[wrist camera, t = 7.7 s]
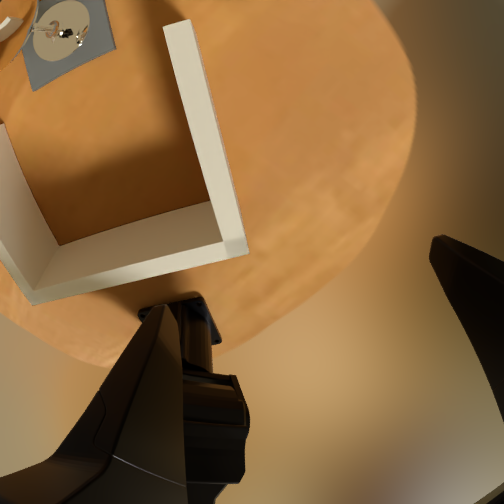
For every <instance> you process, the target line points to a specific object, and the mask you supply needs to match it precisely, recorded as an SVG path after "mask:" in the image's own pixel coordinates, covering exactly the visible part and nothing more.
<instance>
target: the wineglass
mask: <svg viewBox="0 0 504 504" xmlns="http://www.w3.org/2000/svg"><path fill="white" fill-rule="evenodd" d="M38 8H39V0H0V72H1V71H2V70H3V69H4V68H6V67H7V66H8V65H9V64H10V63H11V62H12V61H13V59H14V58H15V57H16V56H17V55H18V53H19V52H20V50H21V49H22V48H23V46H24V45H25V43H26V41H27V39H28V38H29V36H30V34H31V32H34V34H33V47H34V50H35V52H36V54H37V55H38V56H39V57H40V58H41V59H43V60H46V61H50V62H52V61H59V60H62V59H65V58H66V57H68V56H70V55H71V54H72V53H74V52H75V51H76V50H77V49H78V48H79V47H80V46H81V44H82V43H83V41H84V40H85V38H86V36H87V33H88V30H89V27H90V14H89V11H88V9H87V7H86V6H85V5H84V4H83V3H81V2H79V1H76V0H65V1H62V2H59V3H57V4H55V5H53V6H52V7H51V8H49V9H48V10H47V11H46V12H45V13H44V14H43V15H42V17H41V18H40V19H39V21H38V23H35V21H36V18H37V14H38Z"/></svg>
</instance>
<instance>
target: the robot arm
mask: <svg viewBox="0 0 504 504" xmlns="http://www.w3.org/2000/svg"><path fill="white" fill-rule="evenodd" d="M429 260H430V263H431V265H432V267H433V269H434V271H435V273H436V275H437V277H438V279H439V282H440V284H441V286H442V288H443V290H444V292H445V294H446V296H447V298H448V300H449V302H450V304H451V306H452V307H453V309H454V311H455V313H456V315H457V316H458V318H459V320H460V322H461V324H462V326H463V328H464V329H465V332H466V334H467V336H468V337H469V339H470V342H471V344H472V346H473V347H474V350H475V352H476V354H477V356H478V358H479V361H480V363H481V365H482V367H483V370H484V372H485V374H486V377H487V379H488V381H489V383H490V386H491V389H492V391H493V394H494V397H495V399H496V402H497V405H498V407H499V410H500V413H501V416H502V419H503V422H504V262H503V261H501V260H499V259H497V258H495V257H493V256H491V255H489V254H487V253H485V252H482V251H480V250H478V249H476V248H474V247H471V246H469V245H467V244H465V243H462V242H460V241H458V240H455V239H453V238H451V237H448V236H446V235H443V234H442V235H438V236H435V237H433V239H432V243H431V248H430V253H429ZM198 302H200V303H198ZM143 314H144V315H143ZM138 317H139V319H140V320H141V322H142V324H141V326H140V327H139V329H138V330H137V332H136V333H135V335H134V336H133V338H132V339H131V341H130V342H129V344H128V345H127V347H126V348H125V350H124V351H123V353H122V354H121V356H120V357H119V359H118V360H117V362H116V363H115V365H114V366H113V368H112V369H111V371H110V373H109V374H108V376H107V377H106V379H105V381H104V382H103V383H102V385H101V387H100V388H99V391H97V393H96V394H95V396H94V398H93V399H92V401H91V402H90V404H89V405H88V407H87V409H86V410H85V412H84V413H83V414H82V416H81V417H80V419H79V420H78V422H77V423H76V424H75V426H74V427H73V428H72V430H71V431H70V432H69V434H68V435H67V437H66V438H65V439H64V441H63V442H62V443H61V445H60V446H59V448H58V449H57V450H56V452H55V453H54V454H53V455H52V456H50V457H49V458H48V459H46V460H45V461H43V462H41V463H38V464H36V465H33V466H31V467H28V468H25V469H23V470H20V471H17V472H15V473H12V474H9V475H6V476H3V477H0V504H215V500H216V498H217V497H218V496H219V494H220V493H221V492H222V491H223V490H224V488H225V487H226V486H227V485H228V484H238V483H239V482H240V481H241V479H242V477H243V475H244V473H245V442H246V438H247V436H248V433H249V428H250V415H249V410H248V407H247V404H246V401H245V399H244V396H243V393H242V391H241V388H240V385H239V383H238V380H237V377H236V375H222V374H215V373H213V366H212V365H213V364H212V345H216V344H220V343H221V342H222V338H221V335H220V333H219V331H218V329H217V327H216V324H215V322H214V320H213V318H212V316H211V313H210V311H209V309H208V307H207V304H206V302H205V300H204V299H203V298H201V297H197V298H192V299H187V300H183V301H178V302H173V303H169V304H163V305H158V306H154V307H150V308H145V309H140V310H139V311H138ZM474 504H504V483H502V484H501V485H500V486H498V487H497V488H496V489H494V490H493V491H492V492H491V493H489V494H487V495H486V496H485V497H483V498H482V499H480V500H479V501H477V502H476V503H474Z"/></svg>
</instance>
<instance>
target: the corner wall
mask: <svg viewBox="0 0 504 504" xmlns="http://www.w3.org/2000/svg"><path fill="white" fill-rule="evenodd" d="M163 30H164V34H165V38H166V42H167V46H168V50H169V54H170V58H171V61H172V65H173V69H174V73H175V76H176V80H177V84H178V88H179V91H180V95H181V99H182V102H183V106H184V109H185V113H186V117H187V120H188V124H189V127H190V131H191V134H192V138H193V141H194V145H195V148H196V152H197V155H198V159H199V162H200V166H201V169H202V172H203V176H204V179H205V183H206V186H207V189H208V193H209V196H210V199H211V201H207V202H203V203H199V204H196V205H192V206H188V207H184V208H181V209H177V210H174V211H170V212H166V213H163V214H159V215H156V216H152V217H149V218H146V219H142V220H139V221H136V222H132V223H129V224H126V225H122V226H119V227H116V228H113V229H110V230H107V231H103V232H100V233H97V234H94V235H91V236H88V237H85V238H82V239H79V240H76V241H73V242H70V243H67V244H65V245H62V246H59V245H58V243H57V241H56V239H55V238H54V236H53V234H52V232H51V230H50V228H49V227H48V225H47V223H46V221H45V219H44V217H43V215H42V213H41V211H40V209H39V207H38V205H37V203H36V201H35V199H34V197H33V195H32V193H31V190H30V188H29V186H28V184H27V182H26V179H25V177H24V175H23V172H22V170H21V168H20V165H19V163H18V160H17V158H16V155H15V153H14V150H13V147H12V145H11V142H10V139H9V136H8V134H7V131H6V128H5V125H4V123H3V124H1V125H0V260H1V261H2V263H3V264H4V266H5V268H6V269H7V271H8V272H9V274H10V275H11V277H12V278H13V280H14V281H15V282H16V284H17V285H18V287H19V288H20V290H21V291H22V292H23V294H24V295H25V296H26V298H27V299H28V300H29V302H30V303H31V304H32V305H37V304H41V303H45V302H49V301H54V300H58V299H62V298H66V297H70V296H75V295H79V294H83V293H87V292H91V291H96V290H100V289H104V288H108V287H112V286H117V285H121V284H125V283H129V282H133V281H137V280H142V279H146V278H150V277H154V276H158V275H163V274H167V273H171V272H175V271H179V270H184V269H188V268H192V267H196V266H200V265H204V264H209V263H213V262H217V261H221V260H225V259H229V258H234V257H238V256H242V255H246V254H249V249H248V244H247V239H246V234H245V230H244V225H243V220H242V215H241V210H240V206H239V202H238V198H237V194H236V190H235V186H234V182H233V178H232V174H231V170H230V166H229V162H228V158H227V154H226V150H225V146H224V142H223V138H222V134H221V130H220V126H219V122H218V118H217V114H216V111H215V107H214V103H213V99H212V95H211V91H210V87H209V83H208V79H207V75H206V71H205V67H204V63H203V59H202V55H201V51H200V47H199V43H198V39H197V35H196V32H195V30H194V27H193V25H192V23H191V20H190V19H188V20H184V21H180V22H177V23H173V24H170V25H167V26H164V27H163Z"/></svg>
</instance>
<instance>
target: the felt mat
mask: <svg viewBox="0 0 504 504" xmlns="http://www.w3.org/2000/svg"><path fill="white" fill-rule="evenodd" d="M62 1H65V0H41V1H40V2H39V8H38V14H37V18H36V21H35V23H38V21H39V19H40V18H41V17H42V15H43V14H44V13H45V12H46V11H47V10H48V9H49V8H51V7H52V6H53V5H55V4H57V3H59V2H62ZM76 1H79V2H81V3H83V4H84V5H85V6H86V7H87V9H88V11H89V14H90V27H89V30H88V33H87V36H86V38H85V40H84V41H83V43H82V44H81V46H80V47H79V48H78V49H77V50H76V51H75V52H74V53H72V54H71V55H70V56H68V57H66V58H65V59H62V60H59V61H52V62H50V61H46V60H43V59H41V58H40V57H39V56H38V55H37V54H36V52H35V50H34V47H33V34H34V32H31V34H30V36H29V38H28V39H27V41H26V43H25V45H24V46H23V48H22V51H23V56H24V60H25V64H26V68H27V72H28V76H29V80H30V84H31V87H32V91H36V90H38V89H39V88H41V87H43V86H44V85H46V84H48V83H49V82H51V81H53V80H54V79H56V78H58V77H60V76H61V75H63V74H65V73H67V72H69V71H71V70H73V69H75V68H76V67H78V66H80V65H82V64H84V63H86V62H88V61H91V60H93V59H95V58H97V57H99V56H101V55H103V54H106V53H108V52H110V51H113V50H115V49H116V46H115V42H114V38H113V34H112V30H111V26H110V21H109V17H108V13H107V8H106V4H105V0H76Z"/></svg>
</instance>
